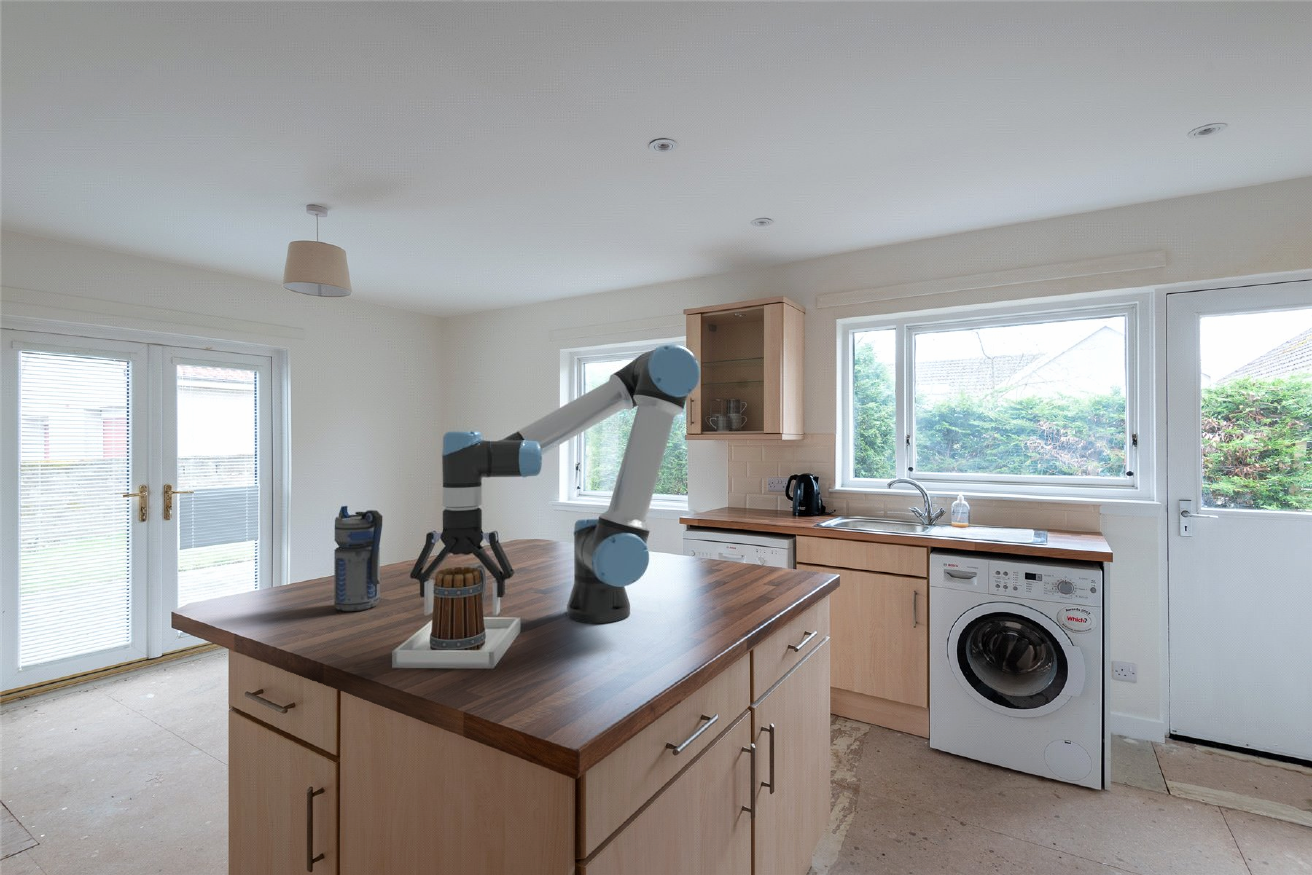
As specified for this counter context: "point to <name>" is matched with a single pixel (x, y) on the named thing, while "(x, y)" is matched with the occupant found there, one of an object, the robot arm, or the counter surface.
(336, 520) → the grey blue grenade canister
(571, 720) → the counter surface
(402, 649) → the white tray
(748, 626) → the counter surface
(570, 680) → the counter surface
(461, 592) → the mug
